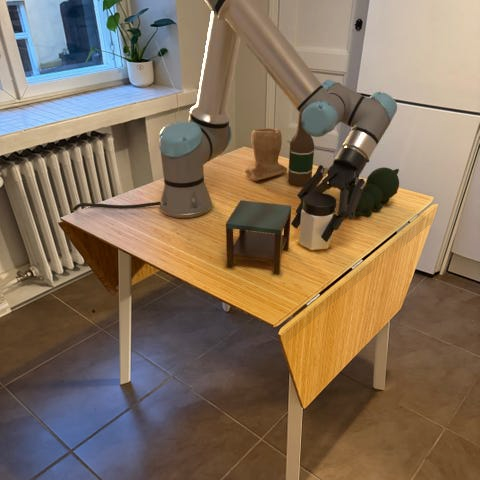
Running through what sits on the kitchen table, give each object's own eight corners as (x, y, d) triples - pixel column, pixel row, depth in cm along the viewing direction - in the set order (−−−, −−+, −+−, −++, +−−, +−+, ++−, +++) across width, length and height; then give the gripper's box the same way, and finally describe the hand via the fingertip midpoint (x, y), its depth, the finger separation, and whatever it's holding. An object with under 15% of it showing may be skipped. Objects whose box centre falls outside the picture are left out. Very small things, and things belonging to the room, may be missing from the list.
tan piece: (270, 164, 169) (271, 121, 160) (292, 174, 161) (294, 129, 152) (236, 174, 162) (235, 129, 153) (257, 185, 154) (258, 139, 145)
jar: (338, 243, 123) (344, 200, 115) (316, 254, 119) (322, 210, 111) (313, 231, 128) (318, 189, 120) (292, 240, 124) (295, 197, 116)
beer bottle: (315, 184, 155) (323, 107, 140) (296, 189, 152) (301, 110, 137) (302, 176, 160) (307, 101, 145) (283, 181, 157) (286, 104, 142)
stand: (227, 267, 115) (225, 223, 108) (240, 242, 125) (240, 200, 118) (278, 274, 113) (281, 229, 105) (288, 248, 122) (291, 205, 115)
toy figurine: (357, 232, 132) (407, 199, 144) (364, 168, 119) (418, 137, 131) (331, 221, 138) (381, 190, 149) (335, 158, 125) (390, 130, 136)
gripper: (396, 173, 115) (348, 253, 116) (324, 151, 127) (282, 224, 128) (388, 157, 109) (338, 242, 110) (314, 136, 121) (270, 213, 122)
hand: (308, 232), depth 119 cm, fingers closed on jar, 9 cm apart
